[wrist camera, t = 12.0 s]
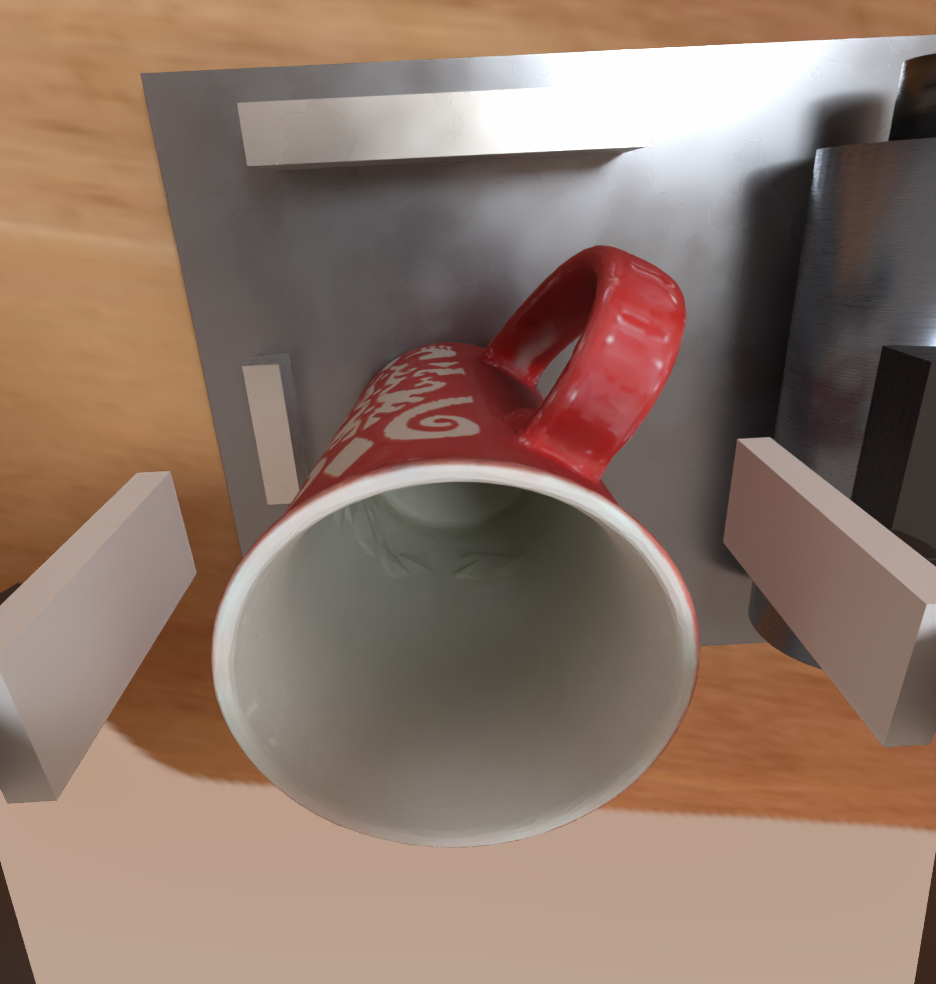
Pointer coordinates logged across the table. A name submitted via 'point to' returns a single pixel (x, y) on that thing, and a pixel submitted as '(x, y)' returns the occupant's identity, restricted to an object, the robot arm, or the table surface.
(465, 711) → the mug
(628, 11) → the table surface
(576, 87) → the plate
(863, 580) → the robot arm
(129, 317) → the table surface
